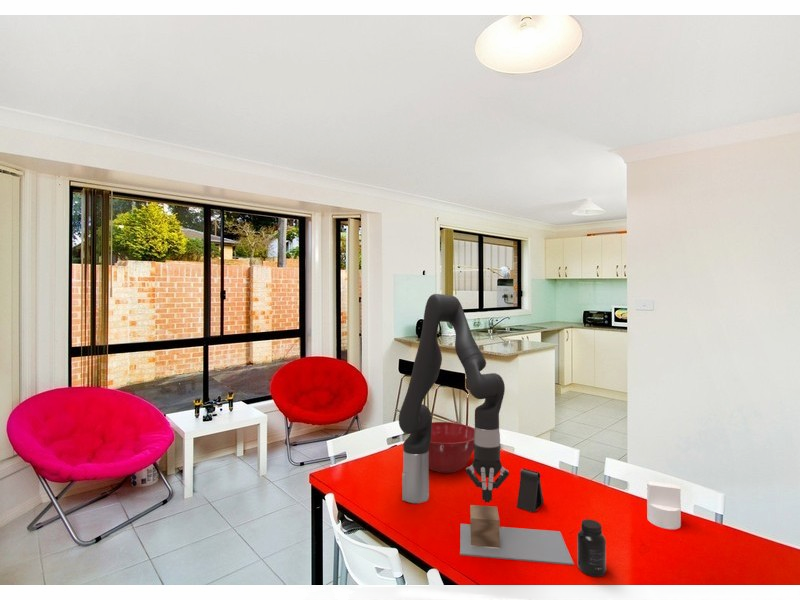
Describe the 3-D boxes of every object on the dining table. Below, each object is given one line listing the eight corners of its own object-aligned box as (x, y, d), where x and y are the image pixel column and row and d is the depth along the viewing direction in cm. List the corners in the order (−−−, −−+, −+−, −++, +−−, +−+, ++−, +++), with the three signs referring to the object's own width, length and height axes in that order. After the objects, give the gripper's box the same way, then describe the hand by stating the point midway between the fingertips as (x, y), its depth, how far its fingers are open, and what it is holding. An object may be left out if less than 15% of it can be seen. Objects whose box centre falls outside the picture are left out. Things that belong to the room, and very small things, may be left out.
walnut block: (470, 546, 119) (470, 518, 120) (470, 531, 127) (470, 504, 127) (499, 548, 118) (499, 520, 118) (497, 533, 126) (497, 506, 126)
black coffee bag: (533, 513, 139) (533, 477, 139) (516, 507, 143) (516, 472, 143) (543, 503, 146) (543, 469, 146) (527, 498, 150) (527, 464, 150)
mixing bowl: (484, 481, 164) (484, 442, 164) (411, 481, 164) (411, 441, 165) (472, 455, 192) (472, 421, 192) (410, 455, 193) (410, 421, 193)
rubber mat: (460, 555, 116) (460, 553, 116) (460, 524, 132) (460, 523, 132) (573, 565, 111) (573, 563, 111) (560, 532, 127) (560, 531, 127)
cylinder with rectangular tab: (675, 518, 136) (675, 481, 136) (684, 532, 127) (684, 493, 127) (644, 513, 139) (644, 477, 139) (650, 527, 130) (650, 488, 130)
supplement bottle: (572, 561, 113) (572, 517, 113) (596, 560, 113) (596, 516, 114) (586, 578, 106) (585, 531, 106) (611, 577, 107) (611, 529, 107)
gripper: (464, 445, 120) (464, 505, 120) (511, 447, 118) (511, 509, 118) (464, 437, 128) (464, 494, 127) (508, 439, 126) (509, 497, 125)
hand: (487, 501), depth 123 cm, fingers closed
